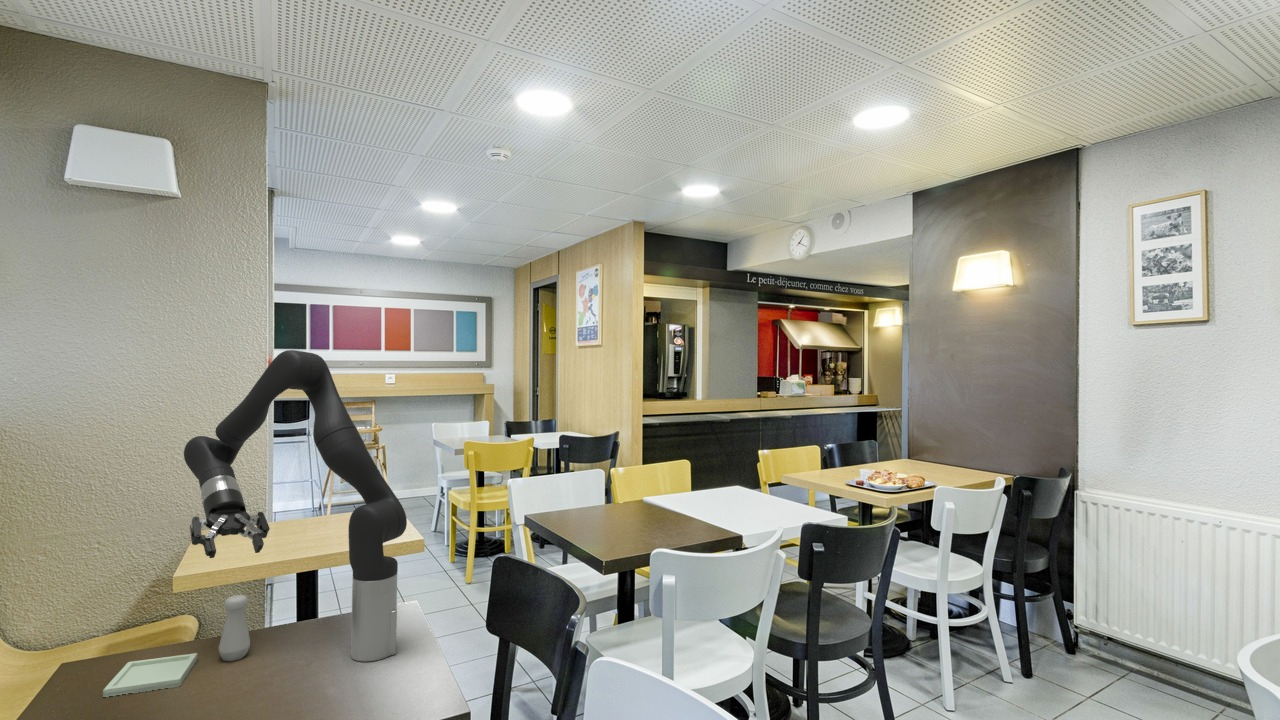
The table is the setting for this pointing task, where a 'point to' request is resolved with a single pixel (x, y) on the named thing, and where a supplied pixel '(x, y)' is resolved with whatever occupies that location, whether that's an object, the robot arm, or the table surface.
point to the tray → (151, 675)
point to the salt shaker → (235, 629)
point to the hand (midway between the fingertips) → (236, 552)
